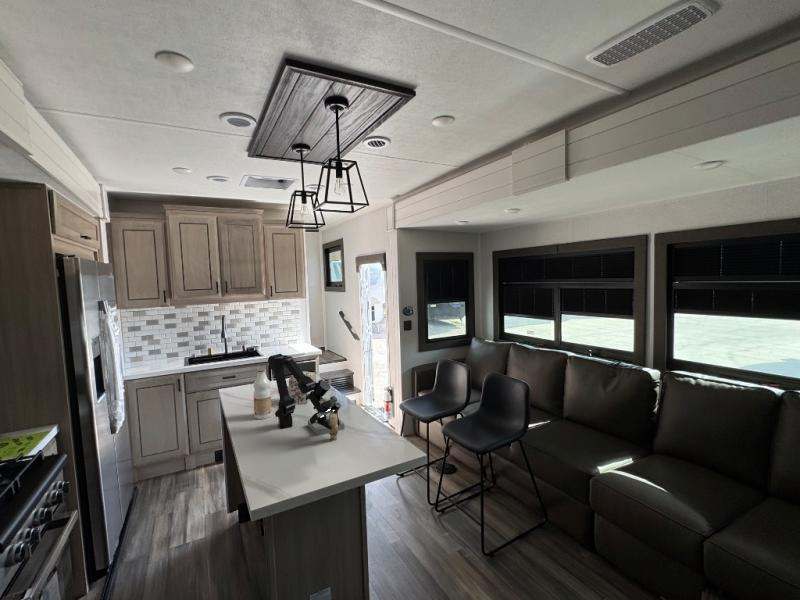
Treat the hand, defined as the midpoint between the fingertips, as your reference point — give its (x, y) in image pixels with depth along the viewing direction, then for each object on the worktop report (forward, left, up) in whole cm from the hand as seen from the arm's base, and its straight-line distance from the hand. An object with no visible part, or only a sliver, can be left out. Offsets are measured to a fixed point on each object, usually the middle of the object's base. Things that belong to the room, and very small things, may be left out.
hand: (335, 427), depth 185 cm
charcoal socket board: (+1, +17, -7) cm, 19 cm away
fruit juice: (-24, +52, -7) cm, 58 cm away
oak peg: (-1, +1, -7) cm, 7 cm away
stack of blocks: (+13, +90, -7) cm, 92 cm away
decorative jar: (+1, +65, -7) cm, 66 cm away
